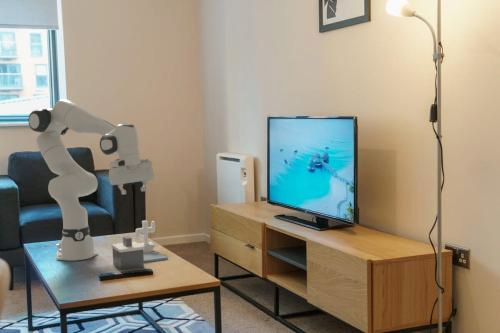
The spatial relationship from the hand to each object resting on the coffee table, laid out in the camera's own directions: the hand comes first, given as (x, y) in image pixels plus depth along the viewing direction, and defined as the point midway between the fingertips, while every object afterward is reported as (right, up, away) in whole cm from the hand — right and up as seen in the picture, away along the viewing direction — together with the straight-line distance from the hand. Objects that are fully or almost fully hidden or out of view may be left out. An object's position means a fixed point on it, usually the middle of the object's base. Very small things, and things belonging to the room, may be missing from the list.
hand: (133, 192), depth 287 cm
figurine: (+1, -29, +30) cm, 42 cm away
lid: (-3, -26, +2) cm, 26 cm away
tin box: (-3, -32, +3) cm, 32 cm away
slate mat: (+5, -30, +16) cm, 35 cm away
